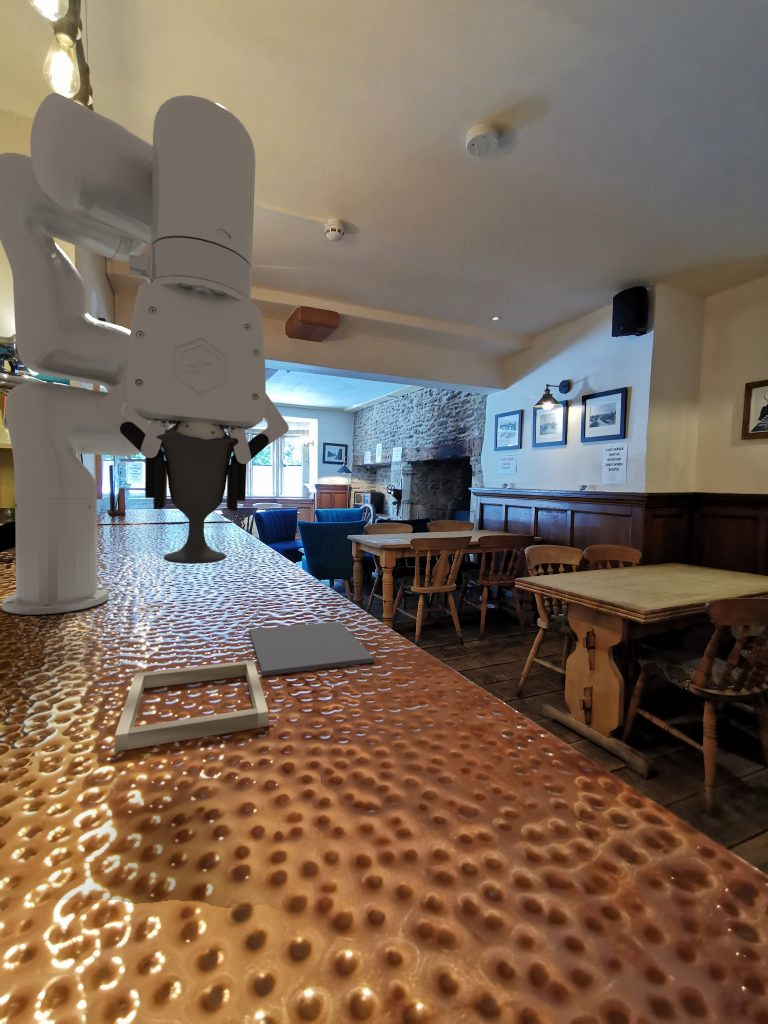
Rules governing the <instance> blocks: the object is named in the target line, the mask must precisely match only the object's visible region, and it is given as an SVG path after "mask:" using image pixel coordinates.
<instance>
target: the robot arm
mask: <svg viewBox="0 0 768 1024" xmlns="http://www.w3.org/2000/svg"><path fill="white" fill-rule="evenodd" d="M29 139H30V140H29V143H30V144H29V147H30V156H29V155H25V154H21V153H17V152H3V153H0V243H1V246H2V248H3V251H4V252H5V255H6V258H7V260H8V264H9V267H10V270H11V275H12V284H13V285H12V288H13V290H12V293H13V307H14V308H13V311H14V328H15V329H14V330H15V343H16V348H17V354H18V356H19V359H20V361H21V363H22V364H23V365H24V366H25V367H26V368H27V369H29V370H31V372H32V371H33V372H35V373H37V374H40V375H44V376H49V377H53V378H58V379H64V380H68V381H73V382H80V383H85V384H90V385H91V384H92V385H97V386H102V387H103V388H105V389H106V391H107V392H106V391H101V390H95V389H88V388H85V387H79V386H73V385H67V384H61V383H60V384H59V383H55V382H46V381H31V382H23V383H20V384H17V385H16V386H14V387H13V388H12V389H10V390H9V392H7V393H8V394H7V395H6V399H5V403H4V404H5V405H4V411H5V412H4V413H5V419H6V425H7V428H8V433H9V439H10V444H11V450H12V457H13V458H12V459H13V468H14V499H15V501H14V502H15V503H14V506H15V507H14V509H15V511H14V513H15V517H14V519H15V520H14V521H15V577H16V578H15V583H16V584H15V585H16V587H15V588H16V589H15V590H16V593H13V594H11V595H8V596H6V597H4V599H2V601H1V610H2V611H4V612H6V613H9V614H15V615H25V616H26V615H27V616H28V615H51V614H53V615H54V614H60V613H69V612H75V611H81V610H86V609H88V608H94V607H96V606H98V605H101V604H103V603H105V602H106V601H108V600H109V598H110V592H109V590H108V589H107V588H106V587H104V586H103V587H102V586H98V488H97V487H98V486H97V483H96V481H95V477H94V475H92V473H91V472H90V471H89V469H88V468H87V467H86V466H85V464H83V463H82V462H81V460H80V459H79V458H78V456H77V455H87V454H88V455H103V456H116V457H117V456H118V457H119V456H120V457H133V456H136V455H139V454H141V455H142V456H144V457H145V484H144V486H145V487H144V495H145V499H153V509H154V510H162V509H163V508H165V507H167V503H168V502H167V500H168V497H167V496H168V476H167V467H166V460H165V455H164V450H163V447H162V445H161V444H162V440H160V439H158V438H156V436H158V435H161V434H165V433H166V432H167V431H168V430H169V429H170V428H171V425H174V426H175V425H176V424H177V423H178V421H184V422H203V423H208V424H216V425H223V426H224V430H226V432H227V433H226V434H227V435H228V436H229V438H236V439H238V444H237V445H235V446H234V447H233V449H234V450H233V452H232V455H231V459H230V463H229V468H228V474H227V481H226V508H227V510H230V511H231V512H238V502H245V501H246V494H247V493H246V492H247V490H246V489H247V464H248V463H249V462H250V461H252V460H253V459H254V458H255V457H256V456H257V455H258V454H260V453H261V452H262V451H263V450H264V449H265V448H267V446H269V445H270V444H271V443H273V442H275V441H276V440H278V439H280V438H281V437H283V436H284V435H286V434H287V433H288V432H289V430H290V429H289V428H290V426H289V424H288V423H287V422H286V420H285V418H284V417H283V416H282V414H281V413H280V411H279V409H278V408H277V407H276V406H275V404H274V403H273V400H271V398H270V397H269V395H268V394H267V392H266V378H267V377H266V354H265V353H266V349H265V336H264V328H263V319H262V315H261V309H260V308H259V307H258V306H257V305H256V304H254V303H253V302H251V301H252V281H253V280H252V276H253V275H252V274H253V273H252V272H253V242H254V241H253V240H254V239H253V238H254V236H253V235H254V214H255V212H254V211H255V185H256V152H255V147H254V144H253V141H252V137H251V135H250V133H249V132H248V130H247V129H246V126H245V124H243V123H242V121H241V120H240V119H239V118H238V117H236V116H235V115H234V114H233V112H231V111H229V110H228V109H227V108H226V107H224V106H222V105H221V104H219V103H217V102H215V101H212V100H210V99H208V98H205V97H201V96H197V95H176V96H172V97H171V98H169V99H167V100H165V101H164V102H163V103H162V104H161V105H160V106H159V108H158V110H157V112H156V113H155V116H154V121H153V132H152V144H151V143H149V142H148V141H147V140H144V139H143V138H141V137H139V136H137V134H136V135H135V134H134V133H133V132H132V131H130V130H129V129H128V128H126V126H124V125H121V124H120V123H118V122H116V121H114V120H112V119H110V118H108V117H106V116H104V115H103V114H99V113H98V112H96V111H94V110H92V109H90V108H88V107H86V106H85V105H83V104H80V103H79V102H77V101H75V100H72V99H71V98H69V97H67V96H64V95H62V94H59V93H57V92H52V93H50V94H47V96H45V98H44V99H43V100H42V101H41V102H40V104H39V106H38V107H37V110H36V113H35V116H34V118H33V122H32V125H31V130H30V138H29ZM54 238H55V239H58V240H60V241H63V242H66V243H69V244H71V245H72V246H73V245H74V246H76V247H78V248H80V249H84V250H86V251H90V252H91V253H94V254H97V255H100V256H102V257H105V258H108V259H111V260H114V261H117V262H121V263H128V266H129V268H128V269H129V274H131V275H135V276H140V278H141V279H145V280H146V282H143V283H141V284H139V286H138V289H137V292H136V297H135V301H134V307H133V311H132V316H131V323H130V324H131V326H130V329H128V328H125V327H124V326H121V325H117V324H113V323H110V322H108V321H107V322H106V321H103V320H99V319H97V318H93V317H92V316H91V315H90V314H89V311H88V298H87V297H88V295H87V294H88V292H87V288H86V284H85V281H84V279H83V277H82V276H81V274H80V272H79V271H78V269H77V268H76V267H75V265H74V263H73V262H72V261H71V259H70V258H69V257H68V256H67V254H66V253H65V252H64V251H63V250H62V249H61V248H60V246H59V245H58V243H56V240H55V239H54ZM148 247H149V252H148V251H146V249H147V248H148ZM145 251H146V252H145ZM144 252H145V255H143V253H144ZM264 420H265V422H266V423H267V426H266V428H265V429H264V430H262V431H261V432H259V433H258V434H256V435H255V436H254V437H252V438H251V439H250V440H249V441H248V438H247V435H246V434H247V433H246V430H249V429H252V428H255V427H256V426H257V425H259V424H261V423H262V422H263V421H264Z"/></svg>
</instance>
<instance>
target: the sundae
mask: <svg viewBox="0 0 768 1024" xmlns="http://www.w3.org/2000/svg"><path fill="white" fill-rule="evenodd" d="M226 432H227V431H226V430H225V429H224V426H223V425H216V424H208V423H203V422H184V421H178V423H177V424H176V425H175V424H174V425H173V426H170V428H169V430H168V431H167V432H166V433H165V434H161V435H158V436H156V438H158V439H160V440H162V444H161V445H162V447H163V448H162V451H163V452H164V459H165V461H166V467H167V487H168V490H169V495H170V496H169V497H170V500H171V503H172V504H173V505H174V506H175V507H176V509H177V510H179V511H180V512H181V513H182V514H184V516H185V517H186V518H187V520H188V536H187V539H186V542H185V544H184V545H183V547H181V548H180V549H179V550H177V551H173V552H170V553H167V554H165V555H164V556H163V560H164V561H166V562H169V563H176V564H187V565H188V564H189V565H191V564H195V565H196V564H200V565H201V564H211V563H216V562H221V561H224V560H226V558H227V555H226V554H225V553H224V552H220V551H216V550H214V549H212V548H211V547H210V546H209V545H208V544H207V541H206V538H205V520H206V518H207V517H209V515H210V514H212V513H213V512H215V511H216V510H217V509H218V507H220V505H221V504H222V503H223V501H224V496H225V491H226V488H227V474H228V468H229V465H230V463H231V456H233V450H234V449H233V447H234V446H235V445H237V444H238V439H236V438H229V436H228V433H226Z"/></svg>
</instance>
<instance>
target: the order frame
mask: <svg viewBox="0 0 768 1024" xmlns="http://www.w3.org/2000/svg"><path fill="white" fill-rule="evenodd" d="M239 677H246V682H247V686H248V690H249V691H248V692H249V695H250V700H251V704H252V708H251V709H243V710H236V711H230V712H223V713H216V714H211V715H210V714H208V715H205V716H198V717H190V718H183V719H178V720H177V719H176V720H171V721H163V722H158V723H150V724H143V725H138V726H135V723H136V719H137V716H138V711H139V708H140V706H141V705H140V704H141V702H142V701H141V700H142V697H143V695H144V689H150V688H157V687H164V686H174V685H181V684H189V683H197V682H209V681H215V680H223V679H224V680H225V679H232V678H239ZM264 727H269V709H268V705H267V702H266V699H265V695H264V690H263V688H262V684H261V681H260V677H259V672H258V671H257V667H256V663H255V660H254V659H253V660H243V661H235V662H234V661H233V662H223V663H215V664H208V665H207V664H206V665H205V664H204V665H197V666H189V667H188V666H187V667H179V668H178V667H177V668H170V669H169V668H167V669H162V670H161V669H160V670H152V671H151V670H150V671H144V672H143V671H142V672H135V673H134V676H133V678H132V681H131V686H130V688H129V690H128V694H127V698H126V700H125V703H124V706H123V710H122V712H121V716H120V718H119V722H118V725H117V728H116V731H115V734H114V752H115V753H116V752H121V751H126V750H127V751H129V750H133V749H138V748H145V747H151V746H158V745H163V744H168V743H169V744H170V743H175V742H181V741H186V740H187V741H188V740H192V739H198V738H205V737H211V736H216V735H222V734H229V733H234V732H241V731H247V730H253V729H260V728H264Z"/></svg>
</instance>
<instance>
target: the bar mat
mask: <svg viewBox="0 0 768 1024" xmlns="http://www.w3.org/2000/svg"><path fill="white" fill-rule="evenodd" d="M248 634H249V638H250V641H251V644H252V649H253V651H254V654H255V658H256V662H257V663H258V667H259V671H260V673H261V676H262V677H265V676H274V675H281V674H289V673H296V672H306V671H314V670H320V669H331V668H337V667H345V666H353V665H361V664H369V663H375V657H374V656H373V655H372V654H371V653H370V652H369V651H368V649H367V648H366V647H364V645H363V644H362V643H361V642H360V641H359V640H358V639H357V638H356V637H355V636H354V634H353V633H352V632H351V631H349V630H348V629H347V628H346V627H345V625H344V624H343V623H342V622H341V621H330V622H319V623H318V622H317V623H307V624H293V625H285V626H284V625H283V626H270V627H259V628H249V630H248Z"/></svg>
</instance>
